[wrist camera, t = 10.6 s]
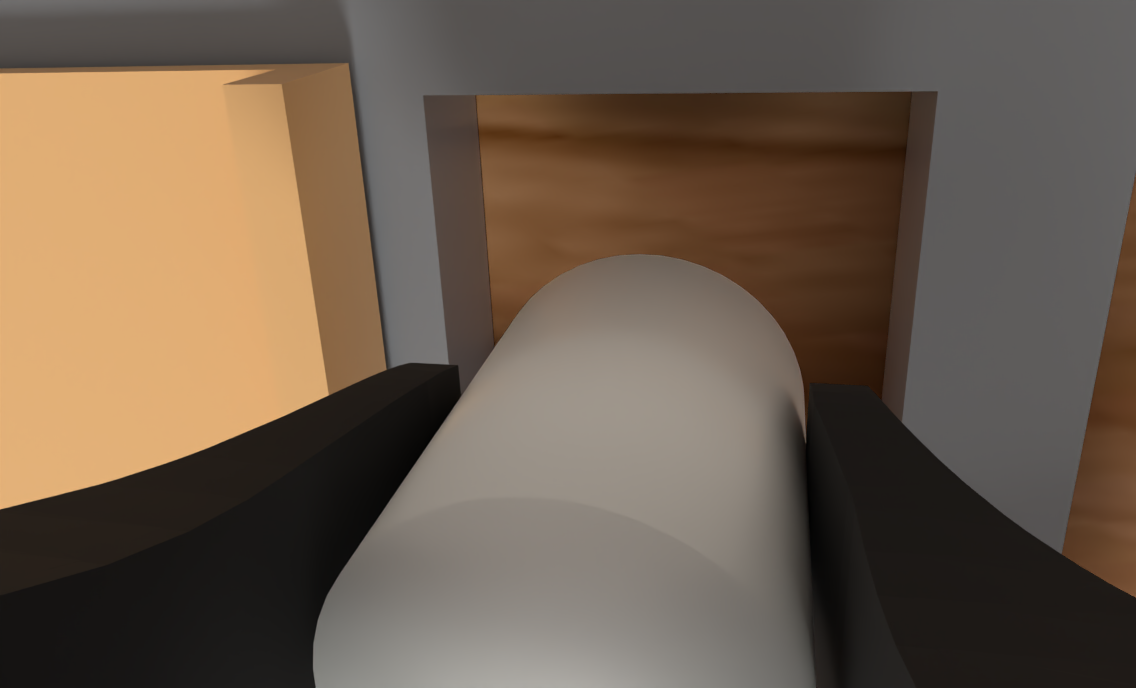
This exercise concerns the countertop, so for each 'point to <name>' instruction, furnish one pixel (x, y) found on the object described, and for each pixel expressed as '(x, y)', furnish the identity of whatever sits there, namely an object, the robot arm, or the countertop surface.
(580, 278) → the plug
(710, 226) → the countertop surface
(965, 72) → the socket plate
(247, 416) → the panel
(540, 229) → the countertop surface
